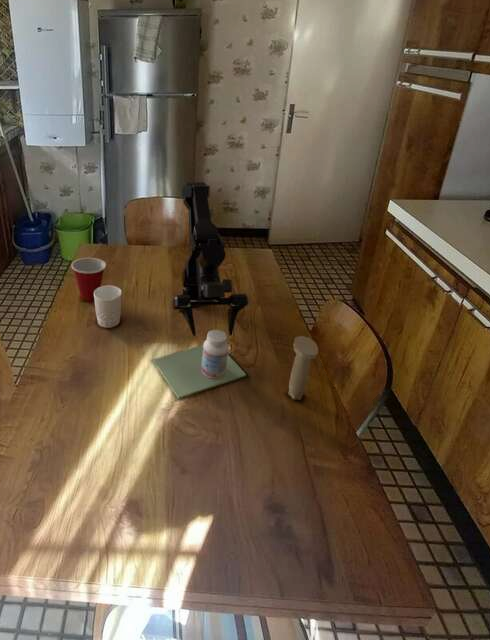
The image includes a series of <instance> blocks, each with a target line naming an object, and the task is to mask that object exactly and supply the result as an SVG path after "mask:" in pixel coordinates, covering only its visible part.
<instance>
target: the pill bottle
mask: <svg viewBox="0 0 490 640" xmlns="http://www.w3.org/2000/svg"><path fill="white" fill-rule="evenodd" d="M202 345H203V356H202V366H201V370H202V373H203V374H204V375H205V376H206V377H208V378H211V379H218V378H221V377H222V376H223V375H224V374H225V371H226V364H227V356H228V355H229V344H228V336H227V334H226V333H225V332H224V331H223V330H220V329H212V330H209V331H208V333H207V336H206V340H204V342H203V344H202Z"/></svg>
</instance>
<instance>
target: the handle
mask: <svg viewBox="0 0 490 640" xmlns="http://www.w3.org/2000/svg"><path fill="white" fill-rule="evenodd" d="M292 347H293V351H294V353H295V357H294V361H293V364H292V368H291V372H290V375H289V380H288V381H289V382H288V396H289V397H290V398H292V399H293V400H294V401H296V400H297V401H300V400H302V397H303V396H304V394H305V392H306V389H307V386H308V382H309V376H310V369H311V363H312V360H314V359H317V357H318V353H319V347H318V345H317V343H316V342H315V341H314V340H313V339H312V338H311V337H309V336H304V335H300V336H299V335H298V336H296V337H294V341H293V346H292Z"/></svg>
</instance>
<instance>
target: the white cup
mask: <svg viewBox="0 0 490 640" xmlns="http://www.w3.org/2000/svg"><path fill="white" fill-rule="evenodd" d="M94 308H95V315H96V322H97V325H99V326H100V327H102V328H105V329H111V328H115V327H117V326H118V325H119V324H120V322H121V312H122V290H121V288H119V286H115V285H111V284H110V285H109V284H108V285H101V287H99V288H97V289H96V290H95V291H94Z"/></svg>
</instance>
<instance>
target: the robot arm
mask: <svg viewBox="0 0 490 640" xmlns="http://www.w3.org/2000/svg"><path fill="white" fill-rule="evenodd" d="M180 196H181V198H182V200H183V202H182V203H183V204H184V206H185V208H186V209H187V211H188V235H189V236H188V237H189V240H188V241H189V257H188V259H187V260H186V262H185V264H184V268H183V270H182V272H181V283H182V294H177V295H176V296H175V297H174V298H173V300H172V309H173V310H175V311H178V314H182V315H183V317H184V319H185V321H186V322H187V325H188V327H189V329H190V332H191V334H192V337H196V336H197V335H196V326H195V320H194V313H193V307H196V306H197V307H198V306H199V307H200V306H203V307H204V306H228V307H229V308H228V309H227V327H228V328H227V329H228V335H229V336H233V331H234V328H235V323H236V319H237V317H238V313H239V312H240V311H242V310H243V309H244V308H245V307H247V306H249V305H250V303H249V297H248V295H247V294H246V293H232V292H233V284H232V283H233V282H232V279H231V278H223V279H222V281H221V277H220V271H219V270H220V269H219V268H220V266H221V265H222V263H223V262H224V261H225V259H226V251H225V248H226V247H225V246H226V244H225V242H224V241H223V238H222V237H221V234H220V233H219V232H218V227H217V225H216V224H215V223H214V222H213V221H212V217H211V211H210V204H209V198H210V197H211V185H207V183H205V181H185V183H184V185H181V187H180ZM226 293H231V295H229V296H228V297H225V296H226Z"/></svg>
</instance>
